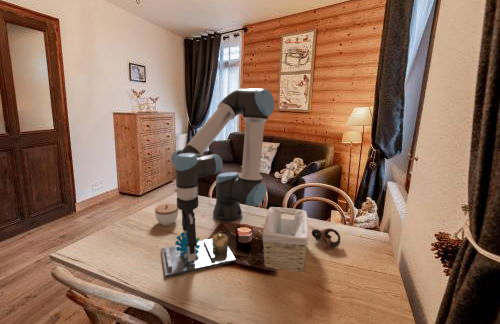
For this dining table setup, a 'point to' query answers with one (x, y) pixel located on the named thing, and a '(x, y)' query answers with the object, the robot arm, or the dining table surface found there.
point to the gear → (184, 244)
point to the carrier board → (197, 256)
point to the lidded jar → (166, 213)
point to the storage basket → (285, 239)
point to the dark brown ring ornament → (326, 237)
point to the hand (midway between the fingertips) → (189, 252)
